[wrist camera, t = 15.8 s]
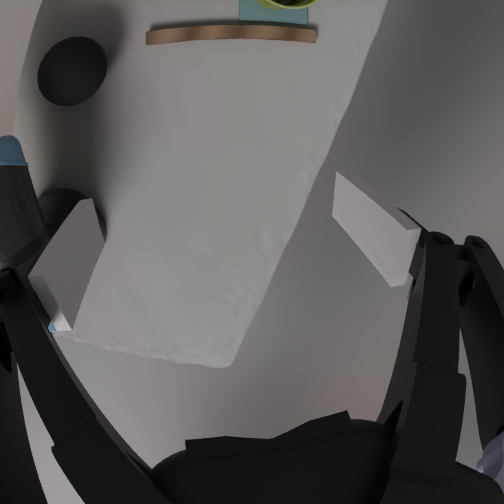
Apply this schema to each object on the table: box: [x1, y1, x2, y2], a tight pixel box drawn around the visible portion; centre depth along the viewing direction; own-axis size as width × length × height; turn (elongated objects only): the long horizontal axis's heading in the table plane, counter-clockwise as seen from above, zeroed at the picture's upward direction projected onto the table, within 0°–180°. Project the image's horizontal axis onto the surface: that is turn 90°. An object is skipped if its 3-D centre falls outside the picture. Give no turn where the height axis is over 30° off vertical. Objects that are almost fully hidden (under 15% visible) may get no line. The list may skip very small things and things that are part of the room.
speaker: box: [38, 37, 107, 106], centre depth 28 cm, size 10×10×10 cm
